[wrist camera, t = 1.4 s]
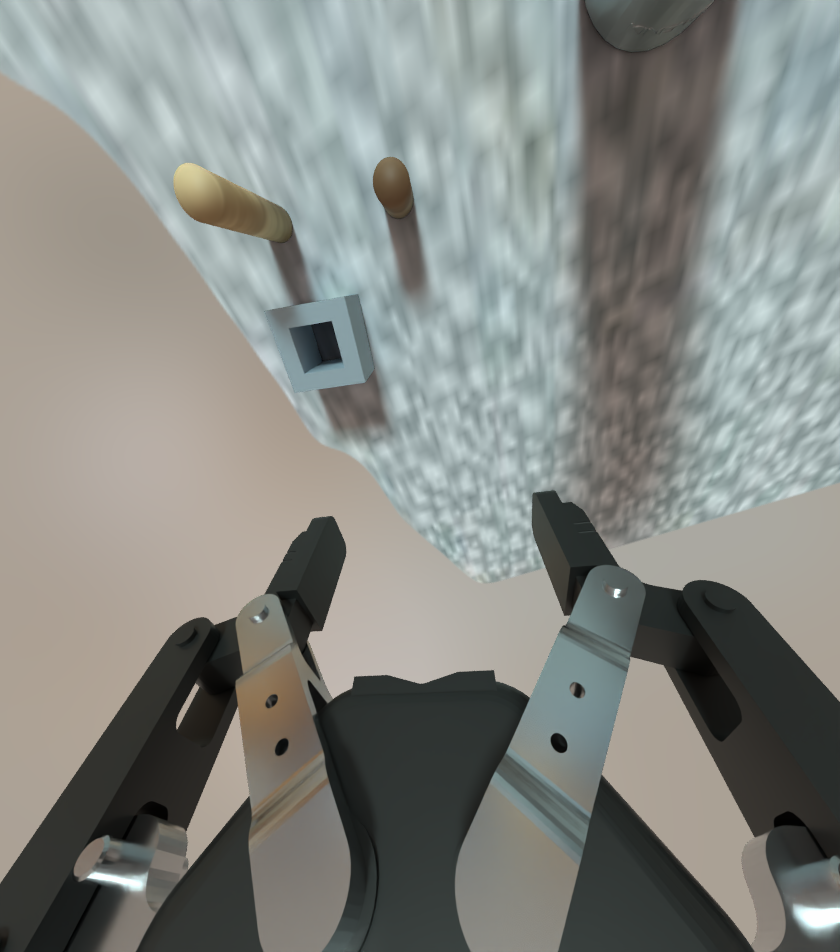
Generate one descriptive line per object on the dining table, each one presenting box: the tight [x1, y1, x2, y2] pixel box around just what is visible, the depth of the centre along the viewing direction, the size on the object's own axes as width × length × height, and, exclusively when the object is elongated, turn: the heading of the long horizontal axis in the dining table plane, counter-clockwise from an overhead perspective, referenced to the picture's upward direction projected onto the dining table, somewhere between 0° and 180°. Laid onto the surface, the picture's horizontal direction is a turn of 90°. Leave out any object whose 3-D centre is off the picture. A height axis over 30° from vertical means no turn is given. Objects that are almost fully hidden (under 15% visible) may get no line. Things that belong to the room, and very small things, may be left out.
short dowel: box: [373, 157, 413, 219], centre depth 22 cm, size 2×2×4 cm
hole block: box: [264, 294, 375, 393], centre depth 27 cm, size 6×6×5 cm
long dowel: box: [174, 163, 292, 243], centre depth 21 cm, size 2×2×10 cm
